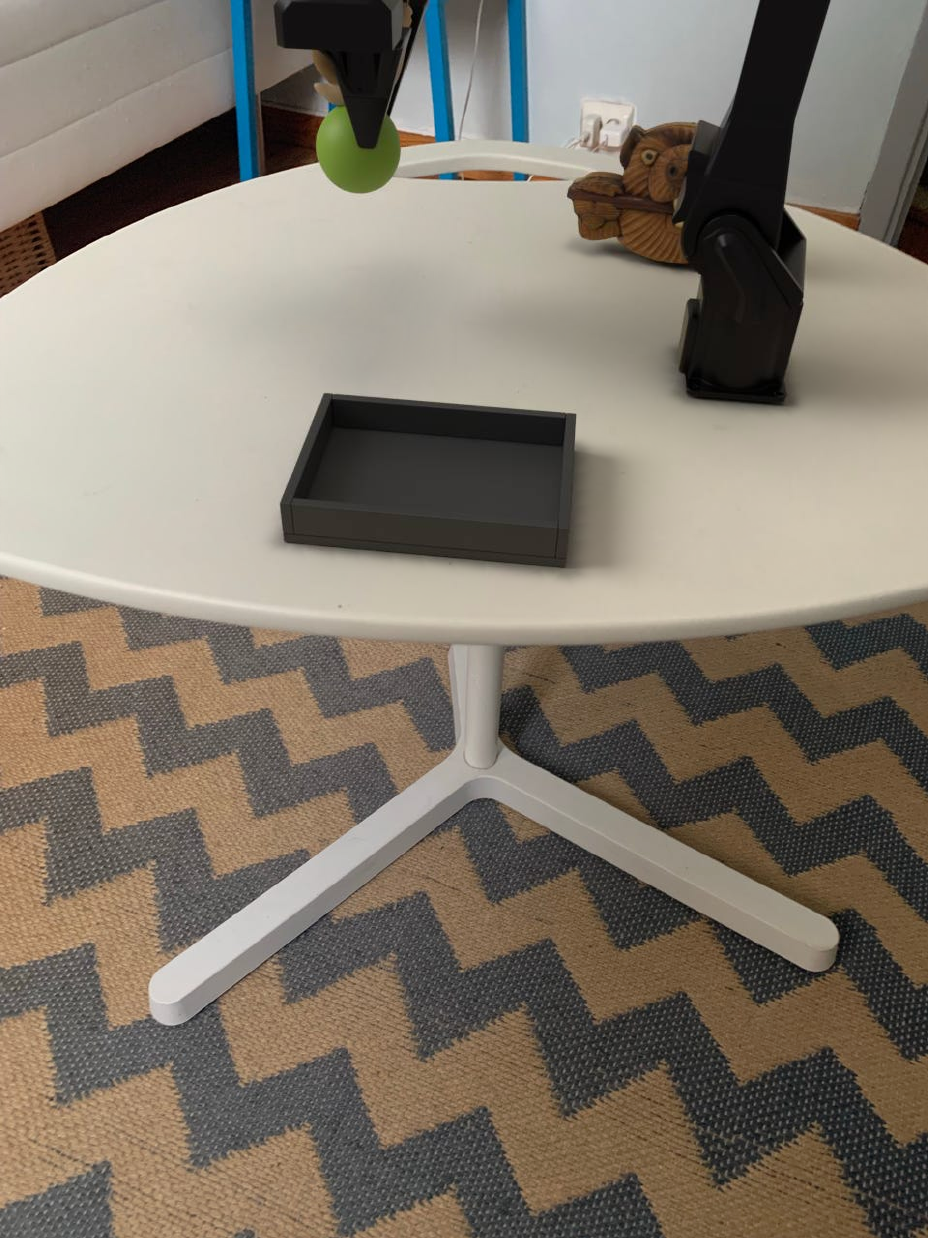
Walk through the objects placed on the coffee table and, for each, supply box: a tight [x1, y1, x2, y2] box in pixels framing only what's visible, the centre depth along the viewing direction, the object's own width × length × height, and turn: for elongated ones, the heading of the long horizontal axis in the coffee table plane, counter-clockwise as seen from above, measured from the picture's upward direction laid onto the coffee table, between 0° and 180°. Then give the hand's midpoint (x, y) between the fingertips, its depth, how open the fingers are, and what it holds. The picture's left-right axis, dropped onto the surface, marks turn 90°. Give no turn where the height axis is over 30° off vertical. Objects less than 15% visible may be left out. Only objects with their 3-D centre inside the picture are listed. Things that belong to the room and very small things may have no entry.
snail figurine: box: [311, 0, 412, 195], centre depth 65 cm, size 5×6×12 cm
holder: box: [279, 392, 577, 568], centre depth 59 cm, size 15×11×3 cm
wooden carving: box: [566, 121, 698, 264], centre depth 81 cm, size 16×5×10 cm, turn 78°
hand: (372, 137), depth 66 cm, fingers closed on snail figurine, 3 cm apart
